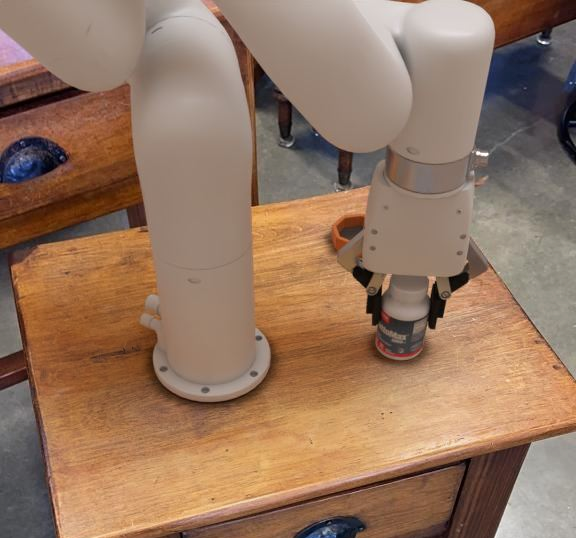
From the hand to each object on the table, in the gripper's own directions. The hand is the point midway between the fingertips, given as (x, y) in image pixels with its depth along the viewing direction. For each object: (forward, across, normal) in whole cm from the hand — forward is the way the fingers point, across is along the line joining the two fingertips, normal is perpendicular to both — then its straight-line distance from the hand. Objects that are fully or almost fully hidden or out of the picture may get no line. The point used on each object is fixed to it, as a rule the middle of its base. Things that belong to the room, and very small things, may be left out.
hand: (403, 317), depth 88 cm
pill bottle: (+4, 0, 0) cm, 4 cm away
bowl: (+4, +5, -18) cm, 19 cm away
